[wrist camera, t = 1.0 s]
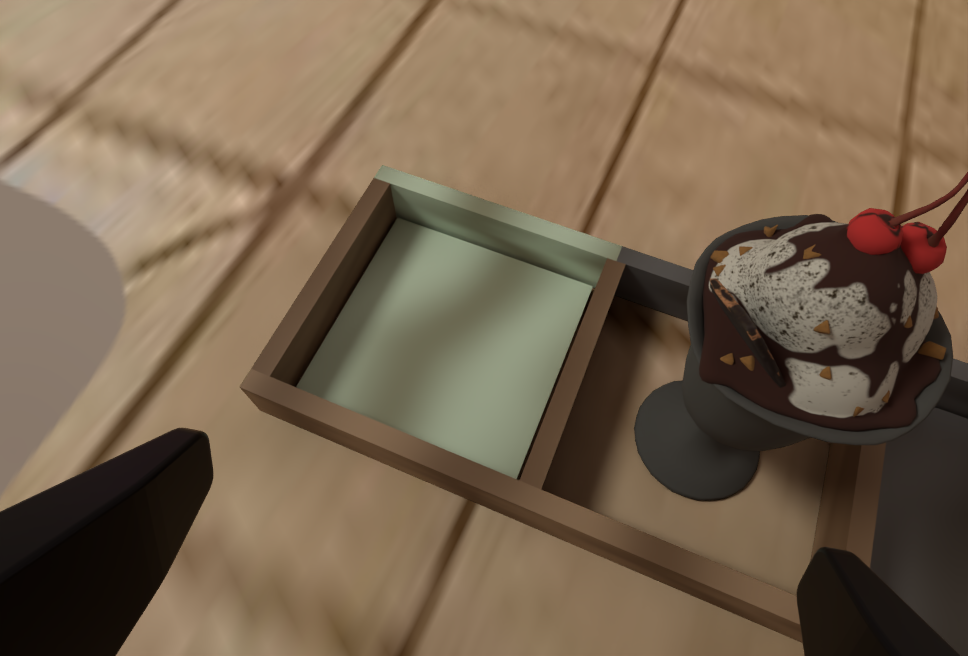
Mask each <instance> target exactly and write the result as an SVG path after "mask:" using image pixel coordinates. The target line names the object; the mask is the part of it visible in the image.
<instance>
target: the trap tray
mask: <svg viewBox="0 0 968 656" xmlns="http://www.w3.org/2000/svg"><path fill="white" fill-rule="evenodd" d="M396 218H397V219H396ZM395 220H396V221H395ZM394 222H395V223H394ZM393 223H394V224H393ZM392 225H393V226H392ZM391 227H392V228H391ZM390 228H391V229H390ZM389 230H390V231H389ZM388 232H389V233H388ZM387 233H388V234H387ZM386 235H387V236H386ZM385 237H386V238H385ZM384 238H385V239H384ZM383 240H384V241H383ZM382 242H383V243H382ZM381 243H382V244H381ZM380 245H381V246H380ZM379 247H380V248H379ZM378 248H379V249H378ZM377 250H378V251H377ZM376 252H377V253H376ZM375 253H376V254H375ZM374 255H375V256H374ZM373 257H374V258H373ZM372 258H373V259H372ZM371 260H372V261H371ZM370 262H371V263H370ZM369 263H370V264H369ZM368 265H369V266H368ZM367 267H368V268H367ZM366 268H367V269H366ZM365 270H366V271H365ZM693 271H694V270H691V269H688V268H685V267H682V266H679V265H676V264H673V263H670V262H667V261H664V260H661V259H658V258H655V257H652V256H649V255H646V254H643V253H640V252H637V251H635V250H632V249H629V248H626V247H623V246H620V245H617V244H614V243H611V242H608V241H605V240H602V239H599V238H596V237H593V236H590V235H587V234H584V233H581V232H578V231H576V230H573V229H570V228H567V227H564V226H561V225H558V224H555V223H552V222H549V221H546V220H543V219H540V218H537V217H534V216H531V215H528V214H525V213H522V212H520V211H517V210H514V209H511V208H508V207H505V206H502V205H499V204H496V203H493V202H490V201H487V200H484V199H481V198H478V197H475V196H472V195H469V194H466V193H463V192H461V191H458V190H455V189H452V188H449V187H446V186H443V185H440V184H437V183H434V182H431V181H428V180H425V179H422V178H419V177H416V176H413V175H410V174H407V173H404V172H402V171H399V170H396V169H393V168H390V167H387V166H384V165H382V166H381V168H380V169H379V171H378V172H377V174H376V175H375V177H374V178H373V180H372V182H371V183H370V185H369V186H368V188H367V189H366V191H365V192H364V194H363V196H362V197H361V199H360V200H359V202H358V203H357V205H356V206H355V208H354V210H353V211H352V213H351V214H350V216H349V217H348V219H347V220H346V222H345V224H344V225H343V227H342V228H341V230H340V231H339V233H338V234H337V236H336V238H335V239H334V241H333V242H332V244H331V245H330V247H329V248H328V250H327V252H326V253H325V255H324V256H323V258H322V259H321V261H320V262H319V264H318V266H317V267H316V269H315V270H314V272H313V273H312V275H311V276H310V278H309V280H308V281H307V283H306V284H305V286H304V287H303V289H302V290H301V292H300V294H299V295H298V297H297V298H296V300H295V301H294V303H293V304H292V306H291V308H290V309H289V311H288V312H287V314H286V315H285V317H284V318H283V320H282V322H281V323H280V325H279V326H278V328H277V329H276V331H275V332H274V334H273V336H272V337H271V339H270V340H269V342H268V343H267V345H266V346H265V348H264V349H263V351H262V353H261V354H260V356H259V357H258V359H257V360H256V362H255V363H254V365H253V367H252V368H251V370H250V371H249V373H248V374H247V376H246V377H245V379H244V381H243V382H242V384H241V385H240V388H241V389H242V391H243V392H244V393H245V394H246V395H247V396H248V397H249V398H250V400H251V401H252V402H253V403H254V404H255V405H256V406H257V407H258V409H259V410H261V411H263V412H265V413H268V414H270V415H272V416H275V417H277V418H279V419H282V420H284V421H286V422H289V423H291V424H293V425H296V426H298V427H300V428H303V429H305V430H307V431H310V432H312V433H314V434H317V435H319V436H321V437H324V438H326V439H328V440H331V441H333V442H335V443H338V444H340V445H342V446H345V447H347V448H349V449H352V450H354V451H356V452H359V453H361V454H363V455H366V456H368V457H370V458H373V459H375V460H377V461H380V462H382V463H384V464H387V465H389V466H391V467H394V468H396V469H398V470H401V471H403V472H405V473H408V474H410V475H412V476H415V477H417V478H419V479H422V480H424V481H426V482H429V483H431V484H433V485H436V486H438V487H440V488H443V489H445V490H447V491H450V492H452V493H454V494H457V495H459V496H461V497H464V498H466V499H468V500H471V501H473V502H475V503H478V504H480V505H482V506H485V507H487V508H489V509H492V510H494V511H496V512H499V513H501V514H503V515H506V516H508V517H510V518H513V519H515V520H517V521H520V522H522V523H524V524H527V525H529V526H531V527H534V528H536V529H538V530H541V531H543V532H545V533H548V534H550V535H552V536H555V537H557V538H559V539H562V540H564V541H566V542H569V543H571V544H573V545H576V546H578V547H580V548H583V549H585V550H587V551H590V552H592V553H594V554H597V555H599V556H601V557H604V558H606V559H608V560H611V561H613V562H615V563H618V564H620V565H622V566H625V567H627V568H629V569H632V570H634V571H636V572H639V573H641V574H643V575H646V576H648V577H650V578H653V579H655V580H657V581H660V582H662V583H664V584H667V585H669V586H671V587H674V588H676V589H678V590H681V591H683V592H685V593H688V594H690V595H692V596H695V597H697V598H699V599H702V600H704V601H706V602H709V603H711V604H713V605H716V606H718V607H720V608H723V609H725V610H727V611H730V612H732V613H734V614H737V615H739V616H741V617H744V618H746V619H748V620H751V621H753V622H755V623H758V624H760V625H762V626H765V627H767V628H769V629H772V630H774V631H776V632H779V633H781V634H783V635H786V636H788V637H790V638H793V639H795V640H797V641H800V642H802V643H803V641H802V634H801V627H800V620H799V614H798V607H797V596H795V595H793V594H791V593H788V592H786V591H783V590H781V589H779V588H776V587H774V586H771V585H769V584H767V583H764V582H762V581H759V580H757V579H755V578H752V577H750V576H747V575H745V574H743V573H740V572H738V571H735V570H733V569H731V568H728V567H726V566H723V565H721V564H719V563H716V562H714V561H711V560H709V559H707V558H704V557H702V556H699V555H697V554H695V553H692V552H690V551H687V550H685V549H683V548H680V547H678V546H675V545H673V544H671V543H668V542H666V541H663V540H661V539H659V538H656V537H654V536H651V535H649V534H647V533H644V532H642V531H639V530H637V529H635V528H632V527H630V526H627V525H625V524H623V523H620V522H618V521H615V520H613V519H611V518H608V517H606V516H603V515H601V514H599V513H596V512H594V511H591V510H589V509H587V508H584V507H582V506H579V505H577V504H575V503H572V502H570V501H567V500H565V499H563V498H560V497H558V496H555V495H553V494H551V493H548V492H546V491H543V490H541V489H542V486H543V483H544V481H545V478H546V475H547V473H548V470H549V467H550V465H551V462H552V459H553V457H554V454H555V451H556V449H557V446H558V443H559V441H560V438H561V435H562V433H563V430H564V427H565V425H566V422H567V419H568V417H569V414H570V411H571V409H572V406H573V403H574V401H575V398H576V395H577V393H578V390H579V387H580V385H581V382H582V379H583V377H584V374H585V371H586V369H587V366H588V363H589V361H590V358H591V355H592V353H593V350H594V347H595V345H596V342H597V339H598V337H599V334H600V331H601V329H602V326H603V323H604V321H605V318H606V315H607V313H608V310H609V307H610V305H611V302H612V299H613V297H614V295H615V296H618V297H621V298H624V299H627V300H630V301H632V302H635V303H638V304H641V305H644V306H647V307H649V308H652V309H655V310H658V311H661V312H664V313H666V314H669V315H672V316H675V317H678V318H681V319H683V320H686V321H688V314H687V297H688V291H689V286H690V280H691V277H692V274H693ZM364 272H365V273H364ZM363 273H364V274H363ZM362 275H363V276H362ZM361 277H362V278H361ZM360 278H361V279H360ZM359 280H360V281H359ZM358 282H359V283H358ZM357 283H358V284H357ZM356 285H357V286H356ZM355 287H356V288H355ZM592 287H593V288H595V290H594V293H593V295H592V298H591V300H590V303H589V305H588V308H587V310H586V313H585V315H584V318H583V320H582V323H581V326H580V328H579V331H578V333H577V336H576V338H575V341H574V343H573V346H572V348H571V351H570V353H569V356H568V359H567V361H566V364H565V366H564V369H563V371H562V374H561V376H560V379H559V381H558V384H557V386H556V389H555V392H554V394H553V397H552V399H551V402H550V404H549V407H548V409H547V412H546V414H545V417H544V419H543V422H542V425H541V427H540V430H539V432H538V435H537V437H536V440H535V442H534V445H533V447H532V450H531V452H530V455H529V458H528V460H527V463H526V465H525V468H524V470H523V473H522V475H521V478H520V480H517V477H518V475H519V472H520V470H521V467H522V465H523V462H524V460H525V457H526V455H527V452H528V450H529V447H530V445H531V442H532V440H533V437H534V434H535V432H536V429H537V427H538V424H539V422H540V419H541V417H542V414H543V412H544V409H545V407H546V404H547V402H548V399H549V397H550V394H551V392H552V389H553V387H554V384H555V381H556V379H557V376H558V374H559V371H560V369H561V366H562V364H563V361H564V359H565V356H566V354H567V351H568V349H569V346H570V344H571V341H572V339H573V336H574V334H575V331H576V328H577V326H578V323H579V321H580V318H581V316H582V313H583V311H584V308H585V306H586V303H587V301H588V298H589V296H590V293H591V290H592ZM354 288H355V289H354ZM353 290H354V291H353ZM352 292H353V293H352ZM351 293H352V294H351ZM350 295H351V296H350ZM349 297H350V298H349ZM347 300H348V301H347ZM346 302H347V303H346ZM344 305H345V306H344ZM343 307H344V308H343ZM342 309H343V310H342ZM341 310H342V311H341ZM340 312H341V313H340ZM339 314H340V315H339ZM338 315H339V316H338ZM337 317H338V318H337ZM336 319H337V320H336ZM335 320H336V321H335ZM334 322H335V323H334ZM333 324H334V325H333ZM332 325H333V326H332ZM331 327H332V328H331ZM330 329H331V330H330ZM329 330H330V331H329ZM328 332H329V333H328ZM327 334H328V335H327ZM326 335H327V336H326ZM325 337H326V338H325ZM324 339H325V340H324ZM323 340H324V341H323ZM322 342H323V343H322ZM321 344H322V345H321ZM320 345H321V346H320ZM319 347H320V348H319ZM318 349H319V350H318ZM317 350H318V351H317ZM316 352H317V353H316ZM315 354H316V355H315ZM314 355H315V356H314ZM313 357H314V358H313ZM312 359H313V360H312ZM311 360H312V361H311ZM310 362H311V363H310ZM309 364H310V365H309ZM308 365H309V366H308ZM307 367H308V368H307ZM306 369H307V370H306ZM305 370H306V371H305ZM304 372H305V373H304ZM303 374H304V375H303ZM302 375H303V376H302ZM301 377H302V378H301ZM300 379H301V380H300ZM299 380H300V381H299ZM298 382H299V383H298ZM297 384H298V385H297ZM296 385H297V386H296ZM821 547H830V548H835V549H841V550H846V551H849V552H852V553H854V554H855V555H856V556H857V557H859V558H860V559H861V560H862V561H863V562H864V563H865V564H866V565H867V566H868V567H869V568H870V569H871V570H872V571H873V572H874V573H875V574H876V575H877V576H878V577H879V578H880V579H881V580H883V581H884V582H885V583H886V584H887V585H888V586H889V587H890V588H891V589H892V590H893V591H894V592H895V593H896V594H897V595H898V596H899V597H900V598H901V599H902V600H903V601H904V602H905V603H907V604H908V605H909V606H910V607H911V608H912V609H913V610H914V611H915V612H916V613H917V614H918V615H919V616H920V617H921V618H922V619H923V620H924V621H925V622H926V623H927V624H928V625H929V626H930V627H932V628H933V629H934V630H935V631H936V632H937V633H938V634H939V635H940V636H941V637H942V638H943V639H944V640H945V641H946V642H947V643H948V644H949V645H950V646H951V647H952V648H953V649H954V650H955V651H957V652H958V653H959V654H960V655H961V656H968V363H965V362H962V361H959V360H956V359H953V363H952V371H951V379H950V382H949V384H948V386H947V387H946V389H945V391H944V393H943V395H942V397H941V399H940V401H939V402H938V404H937V405H936V406H935V408H934V409H933V410H932V412H931V413H930V414H929V416H928V417H927V418H926V419H925V420H924V421H923V422H921V423H920V424H919V425H918V426H917V427H915V428H914V429H913V430H912V431H910V432H909V433H907V434H905V435H903V436H901V437H899V438H897V439H896V440H894V441H890V442H886V443H883V444H879V445H848V444H838V443H831V444H830V450H829V456H828V462H827V468H826V474H825V479H824V485H823V491H822V497H821V503H820V509H819V515H818V520H817V526H816V532H815V538H814V544H813V550H812V556H811V560H812V558H813V556H814V554H815V552H816V551H817V550H818V549H819V548H821Z"/></svg>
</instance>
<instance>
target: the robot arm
mask: <svg viewBox="0 0 968 656" xmlns="http://www.w3.org/2000/svg"><path fill="white" fill-rule="evenodd" d="M212 481H213V465H212V458H211V450H210V443H209V438H208V436H207V434H206V433H204V432H203V431H198V430H193V429H188V428H177V429H174V430H172V431H170V432H167V433H165V434H163V435H161V436H159V437H157V438H155V439H153V440H151V441H148V442H146V443H144V444H142V445H140V446H138V447H136V448H134V449H132V450H129V451H127V452H125V453H123V454H121V455H119V456H117V457H115V458H113V459H110V460H108V461H106V462H104V463H102V464H100V465H98V466H96V467H94V468H91V469H89V470H87V471H85V472H83V473H81V474H79V475H77V476H75V477H72V478H70V479H68V480H66V481H64V482H62V483H60V484H58V485H56V486H53V487H51V488H49V489H47V490H45V491H43V492H41V493H39V494H37V495H34V496H32V497H30V498H28V499H26V500H24V501H22V502H20V503H18V504H15V505H13V506H11V507H9V508H7V509H5V510H3V511H1V512H0V656H116V654H117V653H118V651H119V650H120V648H121V647H122V645H123V643H124V642H125V640H126V639H127V637H128V636H129V634H130V632H131V631H132V629H133V628H134V626H135V625H136V623H137V621H138V620H139V618H140V617H141V615H142V614H143V612H144V611H145V609H146V607H147V606H148V604H149V603H150V601H151V600H152V598H153V596H154V595H155V593H156V592H157V590H158V588H159V587H160V585H161V583H162V582H163V580H164V578H165V577H166V575H167V573H168V571H169V569H170V567H171V565H172V564H173V562H174V560H175V558H176V556H177V554H178V552H179V550H180V548H181V546H182V544H183V542H184V540H185V538H186V536H187V534H188V532H189V530H190V528H191V526H192V524H193V522H194V520H195V518H196V516H197V514H198V512H199V510H200V508H201V506H202V504H203V502H204V500H205V498H206V496H207V494H208V492H209V490H210V487H211V485H212ZM797 607H798V614H799V620H800V627H801V634H802V641H803V648H804V655H805V656H961V655H960V654H959V653H958V652H957V651H955V650H954V649H953V648H952V647H951V646H950V645H949V644H948V643H947V642H946V641H945V640H944V639H943V638H942V637H941V636H940V635H939V634H938V633H937V632H936V631H935V630H934V629H933V628H932V627H930V626H929V625H928V624H927V623H926V622H925V621H924V620H923V619H922V618H921V617H920V616H919V615H918V614H917V613H916V612H915V611H914V610H913V609H912V608H911V607H910V606H909V605H908V604H907V603H905V602H904V601H903V600H902V599H901V598H900V597H899V596H898V595H897V594H896V593H895V592H894V591H893V590H892V589H891V588H890V587H889V586H888V585H887V584H886V583H885V582H884V581H883V580H881V579H880V578H879V577H878V576H877V575H876V574H875V573H874V572H873V571H872V570H871V569H870V568H869V567H868V566H867V565H866V564H865V563H864V562H863V561H862V560H861V559H860V558H859V557H857V556H856V555H855V554H854V553H852V552H849V551H846V550H841V549H835V548H830V547H821V548H819V549H818V550H817V551H816V552H815V554H814V556H813V558H812V560H811V562H810V563H809V565H808V567H807V569H806V571H805V573H804V575H803V577H802V579H801V581H800V583H799V585H798V589H797Z"/></svg>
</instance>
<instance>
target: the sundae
mask: <svg viewBox="0 0 968 656" xmlns="http://www.w3.org/2000/svg"><path fill="white" fill-rule="evenodd" d="M967 182H968V172H967V174H966V175H965V176H964V177H963V179H962V180H961V181H960V183H959V184H958V185H957V186H956V187H955V188H954V189H953V190H952V191H950V192H949V193H948V194H947V195H945V196H944V197H941V198H940V199H938V200H936V201H934V202H933V203H931V204H929V205H927V206H924V207H921V208H919V209H916V210H914V211H911V212H908V213H906V214H903V215H901V216H898V217H894V216H893V215H892V214H891V213H890V212H888V211H886V210H881V209H873V208H869V209H867V210H865V211H863V212H861V213H859V214H858V215H857V216H855V217H854V218H853V219H851V220H850V222H849V224H844V223H838V222H835V221H832V220H831V219H830V218H829V217H827V216H825V215H822V214H814V215H809V216H808V215H800V216H780V217H774V218H768V219H762V220H759V221H755V222H752V223H749V224H746V225H743V226H741V227H738V228H736V229H734V230H731V231H729V232H727V233H725V234H723V235H722V236H720V237H718V238H716V239H715V240H714V241H713V242H712V243H711V244H710V245H709V246H708V247H707V248H706V249H705V250H704V252H703V253H702V255H701V256H700V257H699V259H698V260H697V262H696V264H695V267H694V271H693V274H692V277H691V280H690V286H689V291H688V297H687V314H688V327H689V333H690V340H691V346H690V349H689V352H688V355H687V358H686V363H685V370H684V376H683V381H673V382H671V383H668V384H666V385H663V386H661V387H659V388H658V389H656V390H654V391H653V392H652V393H651V394H650V395H649V396H648V397H647V398H646V399H645V401H644V402H643V403H642V405H641V406H640V408H639V411H638V414H637V417H636V422H635V427H634V431H635V441H636V445H637V449H638V453H639V455H640V457H641V459H642V461H643V463H644V464H645V466H646V467H647V469H648V470H649V472H650V473H651V475H652V476H654V477H655V478H656V479H657V480H658V481H659V482H660V483H661V484H663V485H664V486H665V487H667V488H668V489H670V490H671V491H672V492H675V493H677V494H680V495H682V496H684V497H688V498H691V499H695V500H718V499H724V498H726V497H728V496H731V495H733V494H735V493H736V492H738V491H739V490H741V489H743V488H744V487H745V486H746V484H747V483H748V482H749V481H750V480H751V478H752V476H753V475H754V473H755V471H756V470H757V466H758V461H759V455H760V451H765V450H770V449H776V448H781V447H785V446H789V445H792V444H794V443H797V442H799V441H802V440H805V439H807V438H810V437H812V438H815V439H819V440H822V441H826V442H830V443H838V444H848V445H879V444H883V443H886V442H890V441H894V440H896V439H897V438H899V437H901V436H903V435H905V434H907V433H909V432H910V431H912V430H913V429H914V428H915V427H917V426H918V425H919V424H920V423H921V422H923V421H924V420H925V419H926V418H927V417H928V416H929V414H930V413H931V412H932V410H933V409H934V408H935V406H936V405H937V404H938V402H939V401H940V399H941V397H942V395H943V393H944V391H945V389H946V387H947V386H948V384H949V382H950V379H951V371H952V363H953V351H952V340H951V335H950V333H949V331H948V328H947V326H946V324H945V322H944V320H943V318H942V316H941V314H940V313H939V311H938V308H937V292H936V287H935V283H934V280H933V278H932V276H931V274H930V271H932V270H934V269H936V268H937V267H938V266H940V265H941V264H942V263H943V261H944V258H945V254H946V249H947V246H946V243H945V240H944V237H943V236H944V235H945V234H946V233H947V232H948V230H949V229H950V228H951V227H952V225H953V224H954V223H955V221H956V220H957V218H958V217H959V215H960V214H961V212H962V211H963V209H964V208H965V206H966V205H967V203H968V189H967V191H966V193H965V194H964V196H963V197H962V198H961V200H960V201H959V202H958V204H957V205H956V206H955V208H954V209H953V211H952V212H951V213H950V215H949V216H948V217H947V219H946V220H945V221H944V222H943V224H942V226H941V227H940V228H939V229H938V231H937V230H935V229H934V228H932V227H930V226H927V225H925V224H923V223H920V222H914V223H907V224H905V225H904V226H901V225H900V224H901V223H903V222H906V221H908V220H910V219H912V218H915V217H917V216H919V215H922V214H924V213H926V212H928V211H930V210H932V209H934V208H936V207H938V206H940V205H941V204H943V203H945V202H946V201H948V200H949V199H951V198H952V197H953V196H955V195H956V194H957V193H958V192H959V191H960V190H961V189H962V188H963V187H964V185H965V184H966V183H967Z"/></svg>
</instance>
